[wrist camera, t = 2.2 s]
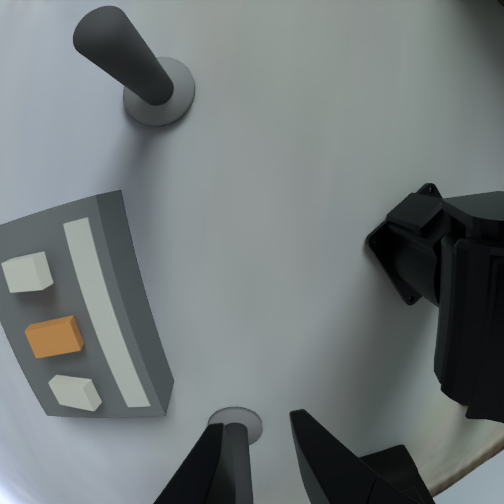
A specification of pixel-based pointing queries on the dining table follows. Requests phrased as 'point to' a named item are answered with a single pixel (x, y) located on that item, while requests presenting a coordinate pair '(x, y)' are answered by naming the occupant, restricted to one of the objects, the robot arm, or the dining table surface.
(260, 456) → the dining table surface
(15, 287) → the pale grey rectangular block
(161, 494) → the robot arm
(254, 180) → the dining table surface
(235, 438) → the cable post
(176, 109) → the post
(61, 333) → the block
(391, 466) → the portable radio
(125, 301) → the board
